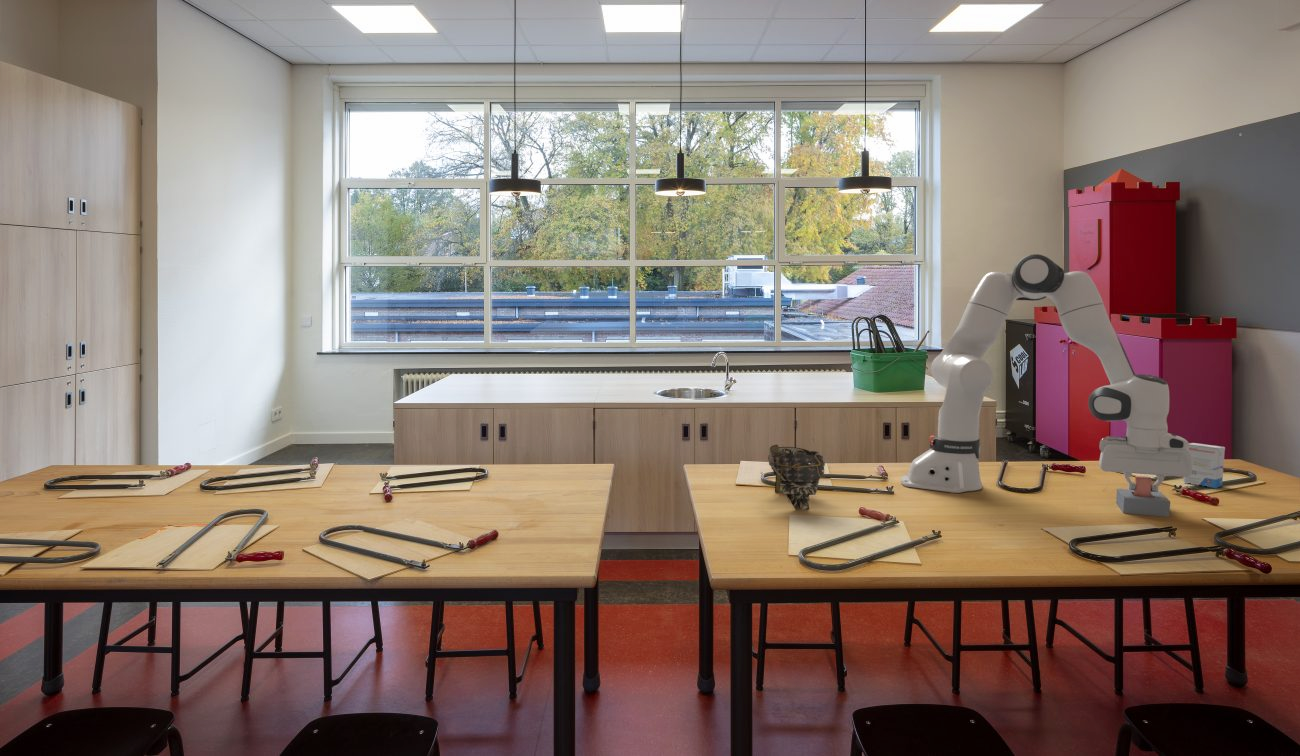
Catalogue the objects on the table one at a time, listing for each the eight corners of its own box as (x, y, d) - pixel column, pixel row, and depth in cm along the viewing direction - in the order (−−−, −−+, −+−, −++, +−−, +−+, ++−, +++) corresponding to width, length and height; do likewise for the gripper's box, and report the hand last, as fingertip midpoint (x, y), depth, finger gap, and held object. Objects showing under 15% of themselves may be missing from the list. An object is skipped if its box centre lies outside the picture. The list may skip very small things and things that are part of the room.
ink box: (1223, 486, 222) (1226, 446, 221) (1216, 488, 219) (1219, 448, 218) (1189, 480, 229) (1192, 441, 228) (1182, 482, 226) (1185, 443, 225)
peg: (1135, 505, 198) (1136, 478, 198) (1132, 501, 202) (1134, 475, 201) (1151, 506, 197) (1153, 479, 196) (1148, 502, 200) (1150, 476, 200)
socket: (1123, 513, 197) (1124, 497, 196) (1116, 502, 206) (1116, 488, 205) (1169, 516, 193) (1170, 501, 193) (1159, 506, 202) (1160, 491, 202)
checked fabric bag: (760, 493, 223) (762, 442, 222) (812, 494, 223) (814, 443, 222) (775, 510, 200) (777, 453, 200) (833, 511, 201) (835, 454, 200)
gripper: (1102, 437, 198) (1098, 489, 200) (1196, 443, 191) (1192, 497, 192) (1098, 433, 204) (1095, 484, 206) (1189, 438, 197) (1185, 491, 198)
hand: (1142, 490), depth 199 cm, fingers closed on peg, 4 cm apart
